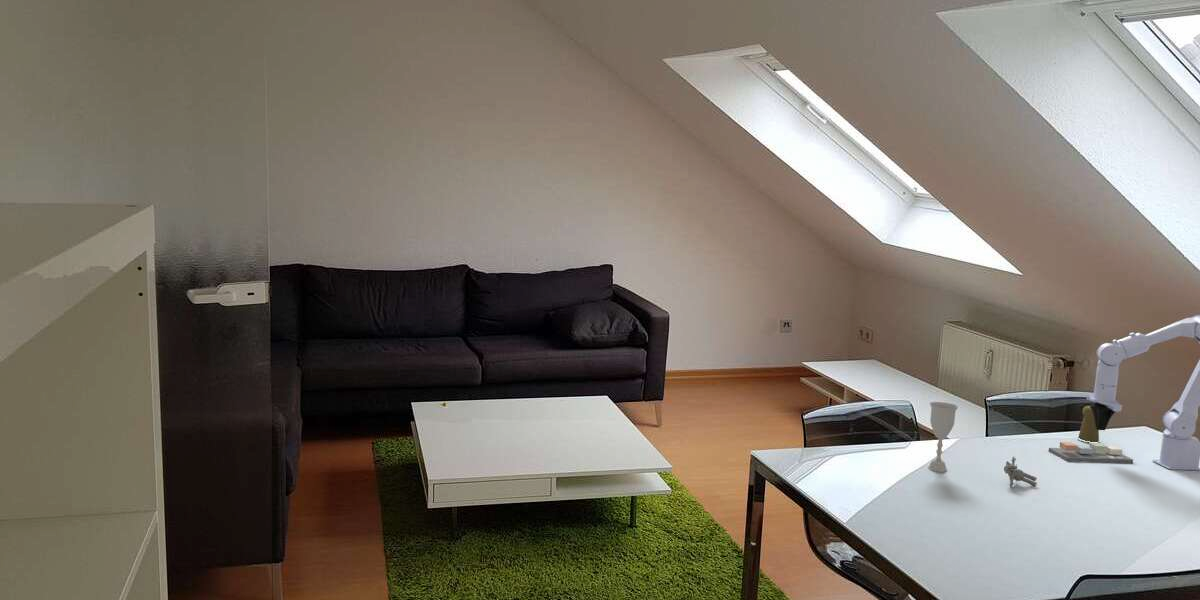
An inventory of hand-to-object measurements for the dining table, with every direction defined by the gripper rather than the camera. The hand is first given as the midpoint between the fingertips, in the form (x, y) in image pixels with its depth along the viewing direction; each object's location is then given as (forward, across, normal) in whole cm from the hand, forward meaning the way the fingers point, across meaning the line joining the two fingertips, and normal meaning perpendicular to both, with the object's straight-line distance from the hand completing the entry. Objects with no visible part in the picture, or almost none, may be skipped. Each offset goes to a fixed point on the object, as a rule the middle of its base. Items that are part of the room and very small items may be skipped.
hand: (1100, 429), depth 284 cm
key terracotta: (+6, 0, -9) cm, 11 cm away
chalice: (+9, +16, -55) cm, 58 cm away
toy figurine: (+9, +27, -38) cm, 48 cm away
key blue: (+7, 0, -5) cm, 8 cm away
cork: (+8, -18, +8) cm, 21 cm away
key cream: (+7, 0, +5) cm, 8 cm away
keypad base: (+8, 0, -2) cm, 9 cm away
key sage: (+6, 0, 0) cm, 6 cm away
